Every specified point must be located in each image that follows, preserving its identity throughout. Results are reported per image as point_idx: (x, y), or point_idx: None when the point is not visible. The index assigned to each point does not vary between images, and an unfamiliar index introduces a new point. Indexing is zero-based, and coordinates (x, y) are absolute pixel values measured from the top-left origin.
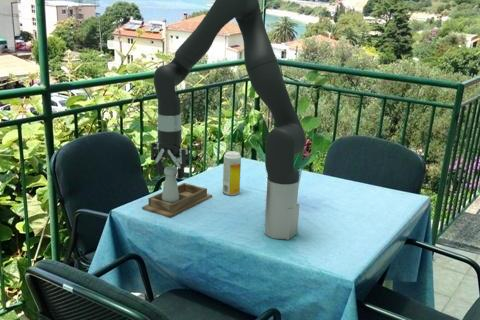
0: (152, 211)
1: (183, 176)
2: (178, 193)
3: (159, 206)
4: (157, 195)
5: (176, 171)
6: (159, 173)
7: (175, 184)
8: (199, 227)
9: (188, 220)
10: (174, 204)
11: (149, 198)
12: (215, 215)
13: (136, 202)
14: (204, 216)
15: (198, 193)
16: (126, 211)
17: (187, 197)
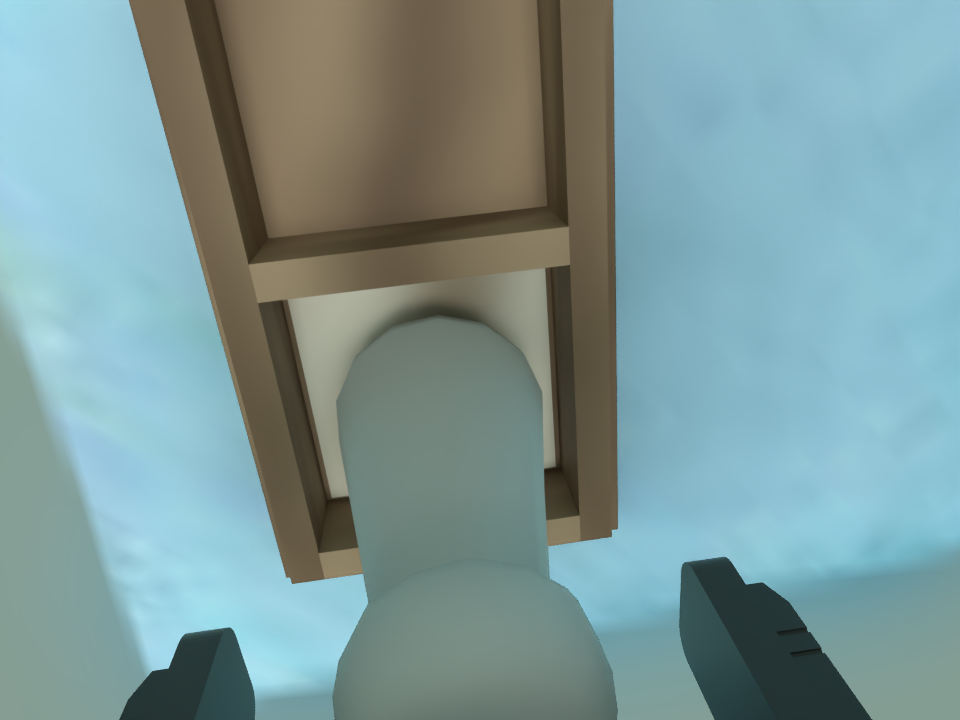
0: None
1: (769, 599)
2: (525, 385)
3: None
4: (291, 482)
5: (609, 667)
6: (248, 701)
7: (544, 510)
8: (898, 470)
9: (756, 445)
10: (610, 504)
11: (306, 581)
12: (913, 203)
13: (106, 510)
14: (831, 295)
15: (602, 46)
16: None
17: (595, 284)
